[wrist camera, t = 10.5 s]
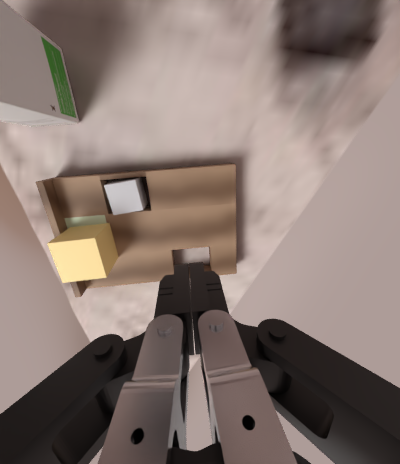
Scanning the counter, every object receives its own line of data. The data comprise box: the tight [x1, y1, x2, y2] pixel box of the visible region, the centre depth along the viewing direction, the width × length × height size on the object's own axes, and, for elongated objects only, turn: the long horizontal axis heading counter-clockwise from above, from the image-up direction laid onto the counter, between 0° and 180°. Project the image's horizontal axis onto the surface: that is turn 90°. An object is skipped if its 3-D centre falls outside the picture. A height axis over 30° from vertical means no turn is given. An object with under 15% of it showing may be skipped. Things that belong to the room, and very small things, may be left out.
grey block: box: [104, 177, 148, 215], centre depth 30 cm, size 4×4×4 cm
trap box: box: [36, 163, 237, 297], centre depth 32 cm, size 17×25×4 cm
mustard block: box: [47, 223, 118, 283], centre depth 29 cm, size 6×6×6 cm
